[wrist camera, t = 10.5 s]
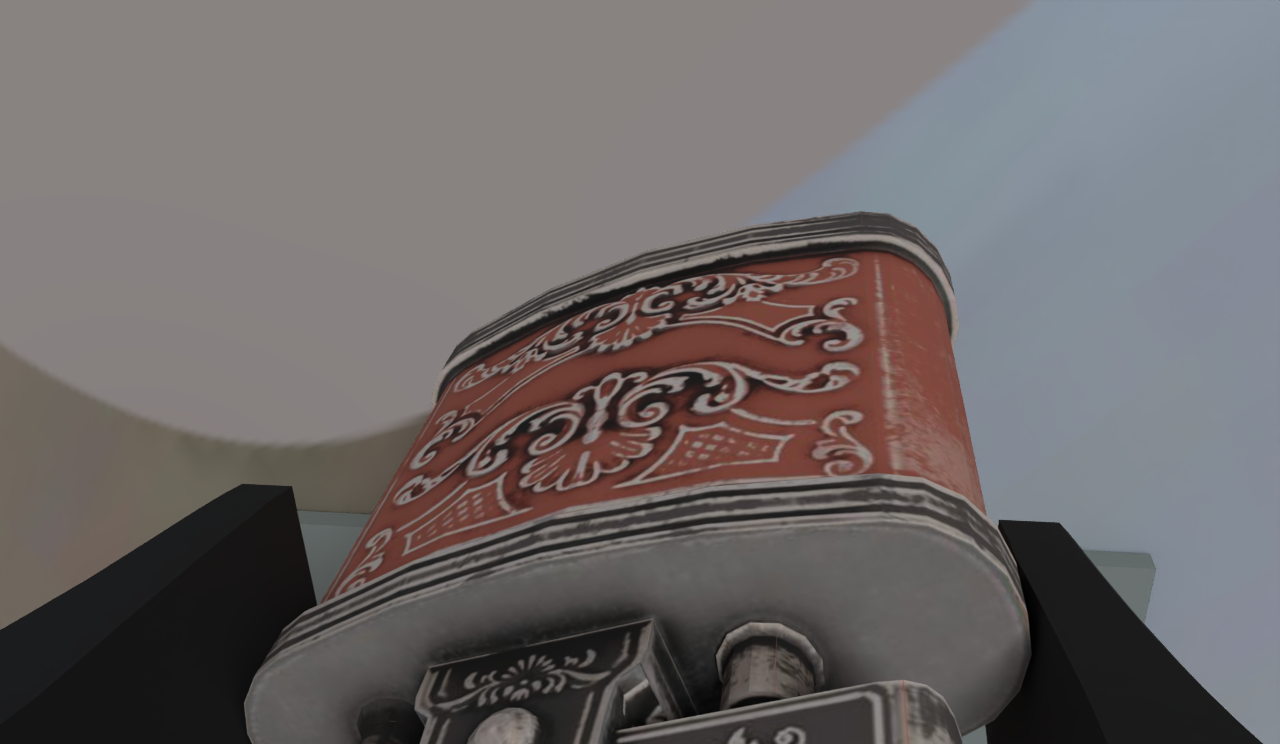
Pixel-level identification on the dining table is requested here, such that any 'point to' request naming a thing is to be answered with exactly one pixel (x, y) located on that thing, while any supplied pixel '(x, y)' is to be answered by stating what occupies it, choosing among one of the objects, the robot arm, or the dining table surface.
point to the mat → (339, 531)
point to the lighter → (680, 519)
